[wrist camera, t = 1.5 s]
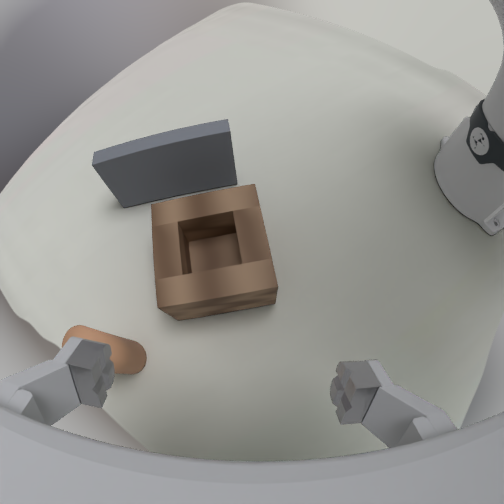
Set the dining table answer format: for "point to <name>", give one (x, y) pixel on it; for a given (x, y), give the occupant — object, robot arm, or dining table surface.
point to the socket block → (212, 254)
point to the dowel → (114, 348)
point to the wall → (168, 163)
